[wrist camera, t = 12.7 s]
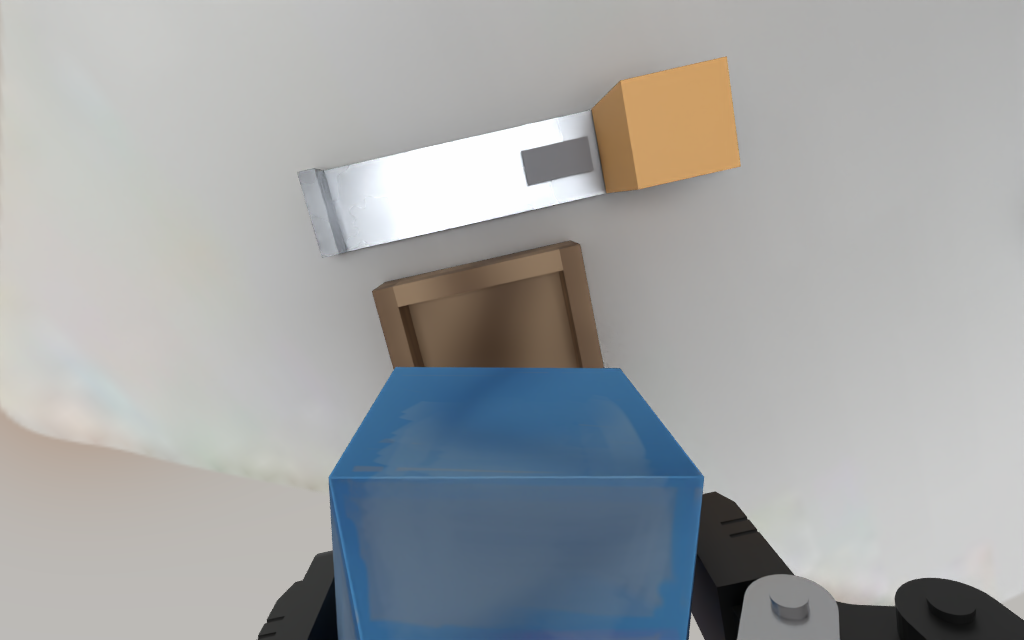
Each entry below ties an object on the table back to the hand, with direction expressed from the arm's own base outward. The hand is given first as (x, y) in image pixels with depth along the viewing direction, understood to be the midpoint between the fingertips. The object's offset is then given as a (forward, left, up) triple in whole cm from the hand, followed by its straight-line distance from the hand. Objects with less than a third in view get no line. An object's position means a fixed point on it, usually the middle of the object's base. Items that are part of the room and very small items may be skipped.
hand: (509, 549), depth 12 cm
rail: (-3, -9, -18) cm, 20 cm away
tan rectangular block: (-7, -9, -16) cm, 20 cm away
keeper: (0, 0, -18) cm, 18 cm away
